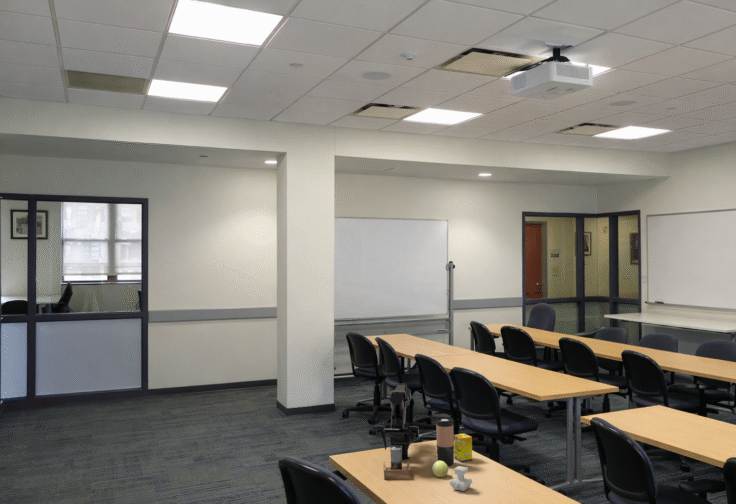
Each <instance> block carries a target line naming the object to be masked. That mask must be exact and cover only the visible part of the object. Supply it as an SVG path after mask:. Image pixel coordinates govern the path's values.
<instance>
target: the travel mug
mask: <svg viewBox="0 0 736 504" xmlns="http://www.w3.org/2000/svg"><path fill="white" fill-rule="evenodd" d="M435 423H436V425H435V426H436V428H435V429H436V455H437V456H436V457H437V461H443V462H445V463H446V464H447V466H448V468H449V467H453V466H454V465H455V458H454V435H455V433H454V418H452V417H450V416H440V417H437V418H436V422H435Z"/></svg>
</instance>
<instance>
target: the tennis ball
mask: <svg viewBox="0 0 736 504" xmlns="http://www.w3.org/2000/svg"><path fill="white" fill-rule="evenodd" d="M431 470H432V473H433V474H434V475H435V476H436V477H437V478H445V477H446V476H447V474H448V472H449V467H448V466H447V464H446V463H445V462H443V461H438V460H437V461H435V462H433V465H432V469H431Z"/></svg>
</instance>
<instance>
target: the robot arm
mask: <svg viewBox="0 0 736 504" xmlns="http://www.w3.org/2000/svg"><path fill="white" fill-rule="evenodd" d="M388 400H389V403H390V408H391V417H390V419H391V421H390V428H386V426H385V424H384V425H381V424H379V425H378V424H377V425H376V426H375V429H374V431H375V436H376V438H379V439H381V440H382V443H383V447H384V450H385V451H387V436H386V434H388V437H389V438H390V446H392V445H400V446H402V461H403V460H408V459H410V456H409V449H410V445H412V441H413V440H416V439H418V438H419V437H420V430H419V426H417V425H409V428H408V425H407V424H406V416H407V415H406V413H407V410H406V409H407V408H408V407H409V406H410V401H412V393H411V389H410V388H409V387H407V384H406V383H397V384H396V385H395V388H394V389H393V390H392V391H391V393H390V394H389V399H388Z"/></svg>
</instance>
